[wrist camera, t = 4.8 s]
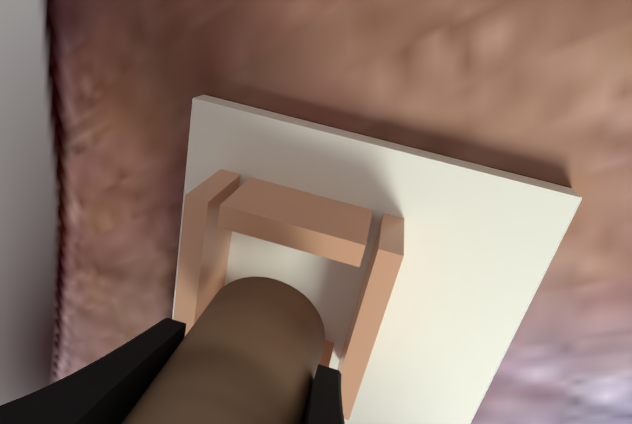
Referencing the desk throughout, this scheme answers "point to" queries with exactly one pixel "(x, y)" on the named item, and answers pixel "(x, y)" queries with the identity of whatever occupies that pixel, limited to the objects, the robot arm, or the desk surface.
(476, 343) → the off-white board
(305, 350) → the walnut peg
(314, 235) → the square wooden frame
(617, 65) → the desk surface
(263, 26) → the desk surface
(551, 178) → the desk surface
